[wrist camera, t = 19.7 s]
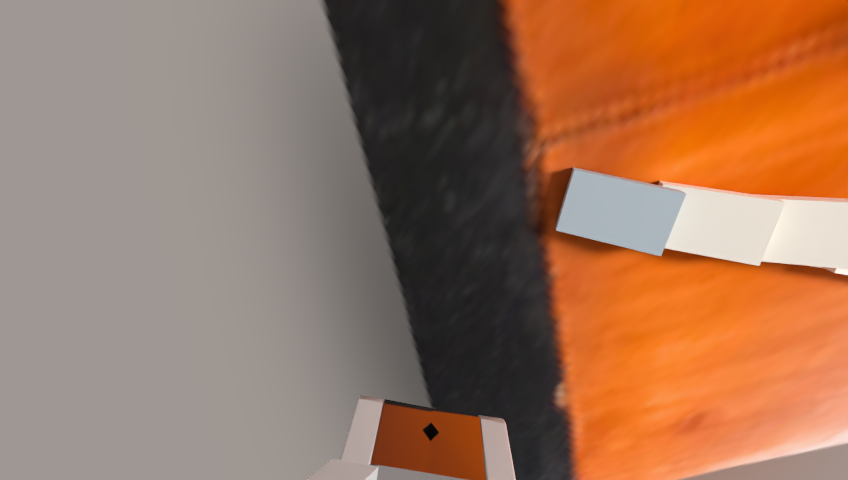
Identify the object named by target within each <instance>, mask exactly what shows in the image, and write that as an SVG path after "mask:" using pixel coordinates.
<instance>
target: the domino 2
mask: <svg viewBox="0 0 848 480" xmlns="http://www.w3.org/2000/svg"><path fill="white" fill-rule="evenodd" d="M658 185H659V186H664V187H669V188H673V189H678V190H681V191H683V192H684V193H686V196H685V198H684V201H683V203H682V206H681V208H680V211H679V213H678V216H677V218H676V221H675V223H674V226H673V228H672V231H671V233H670V236H669V238H668V240H667V243H666V245H665V248H666V249H671V250H676V251H682V252H687V253H692V254H698V255H703V256H708V257H714V258H719V259H725V260H730V261H735V262H741V263H746V264H751V265H757V266H760V264H761V261H762V259H763V256H764V254H765V251H766V249H767V246H768V244H769V242H770V239H771V237H772V234H773V232H774V229H775V227H776V225H777V222H778V220H779V217H780V215H781V212H782V210H783V207H784V205H785V203H786V202H784V201H782V200H780V199H777V198H774V197H767V196H760V195H753V194H747V193H740V192H733V191H726V190H719V189H713V188H706V187H699V186H692V185H685V184H679V183H672V182H665V181H659V183H658Z"/></svg>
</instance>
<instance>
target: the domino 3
mask: <svg viewBox="0 0 848 480" xmlns="http://www.w3.org/2000/svg"><path fill="white" fill-rule="evenodd" d="M753 195H757V194H753ZM760 196H767V197H774V198H777V199H780V200H782V201H784V202H786V203H785V205H784V207H783V210H782V212H781V215H780V217H779V220H778V222H777V225H776V227H775V229H774V232H773V234H772V237H771V239H770V242H769V244H768V246H767V249H766V251H765V254H764V256H763V259H762V262H773V263H784V264H795V265H806V266H817V267H829V268H840V269H848V199H845V198H823V197H801V196H779V195H760Z"/></svg>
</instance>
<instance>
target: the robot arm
mask: <svg viewBox="0 0 848 480" xmlns="http://www.w3.org/2000/svg"><path fill="white" fill-rule="evenodd" d="M306 480H516V479H515V473H514V468H513V462H512V456H511V451H510V445H509V439H508V434H507V428H506V423H505V421H504V420H503V419H501V418H494V417H487V416H481V415H479V416H477V415H471V414H465V413H458V412H452V411H446V410H439V409H433V408H428V407H422V406H417V405H411V404H407V403H401V402H396V401H390V400H385V401H384V400H383V399H378V398H373V397H367V396H362V395H360V397H359V399H358V401H357V404H356V407H355V411H354V414H353V417H352V420H351V424H350V427H349V430H348V434H347V437H346V440H345V444H344V447H343V450H342V454H341V457H340V460H337V459H331V460H330V461H328V462H327V463H326V464H325V465H323V466H322V467H321V468H320V469H318V470H317V471H316V472H315V473H313V474H312V475H311V476H310V477H308V478H307V479H306Z"/></svg>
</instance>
